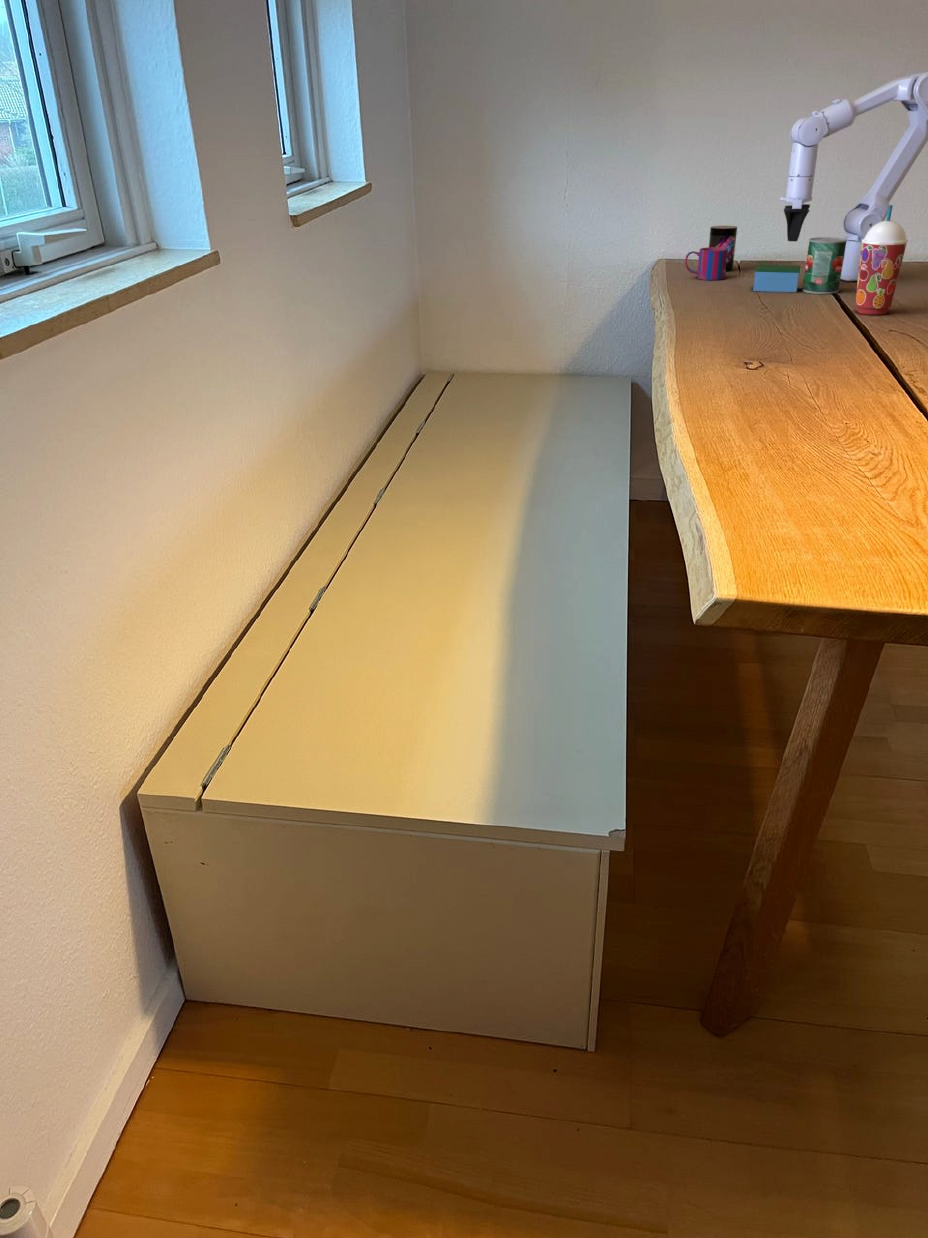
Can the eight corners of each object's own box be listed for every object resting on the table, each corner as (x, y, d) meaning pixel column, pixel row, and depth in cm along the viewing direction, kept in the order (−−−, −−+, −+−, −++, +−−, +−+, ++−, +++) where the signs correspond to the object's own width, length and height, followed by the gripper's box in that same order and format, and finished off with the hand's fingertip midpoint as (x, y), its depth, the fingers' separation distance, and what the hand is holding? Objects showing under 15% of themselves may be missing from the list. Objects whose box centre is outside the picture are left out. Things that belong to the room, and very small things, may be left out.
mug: (725, 280, 228) (728, 250, 224) (683, 279, 230) (685, 250, 226) (724, 275, 233) (727, 246, 230) (683, 275, 235) (686, 246, 232)
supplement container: (701, 270, 242) (705, 227, 237) (713, 267, 247) (717, 224, 242) (725, 272, 238) (730, 228, 233) (737, 269, 243) (742, 226, 238)
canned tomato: (843, 293, 208) (852, 240, 203) (808, 294, 208) (815, 241, 203) (831, 287, 215) (839, 236, 210) (797, 288, 215) (804, 237, 210)
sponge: (797, 288, 215) (800, 265, 213) (796, 292, 211) (799, 269, 208) (754, 287, 218) (757, 264, 216) (753, 290, 214) (755, 267, 211)
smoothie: (895, 309, 190) (915, 203, 181) (892, 317, 184) (913, 207, 174) (851, 307, 193) (869, 202, 184) (848, 314, 187) (866, 206, 177)
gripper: (784, 174, 221) (776, 235, 228) (782, 178, 209) (774, 242, 216) (815, 173, 219) (806, 235, 226) (815, 177, 207) (806, 242, 214)
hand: (792, 239), depth 221 cm, fingers open, 7 cm apart
